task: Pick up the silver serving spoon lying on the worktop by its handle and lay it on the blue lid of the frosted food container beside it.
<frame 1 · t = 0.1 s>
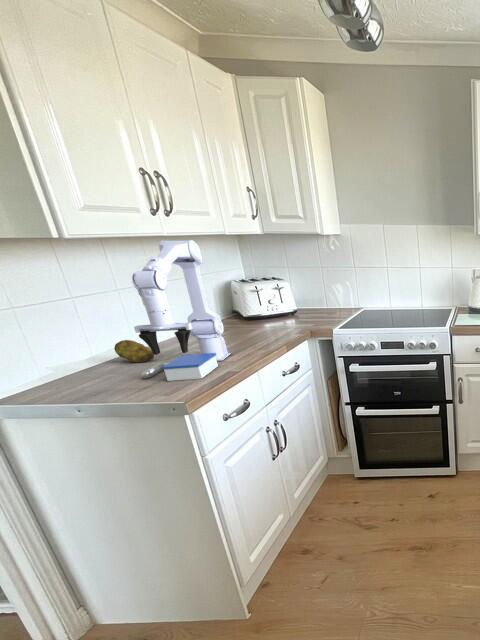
hand: (171, 353, 132), 10 cm above the counter, tool pointing down, fingers open, 7 cm apart
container: (194, 373, 145), on the counter
potato: (137, 361, 159), on the counter
spoon: (155, 373, 144), on the counter
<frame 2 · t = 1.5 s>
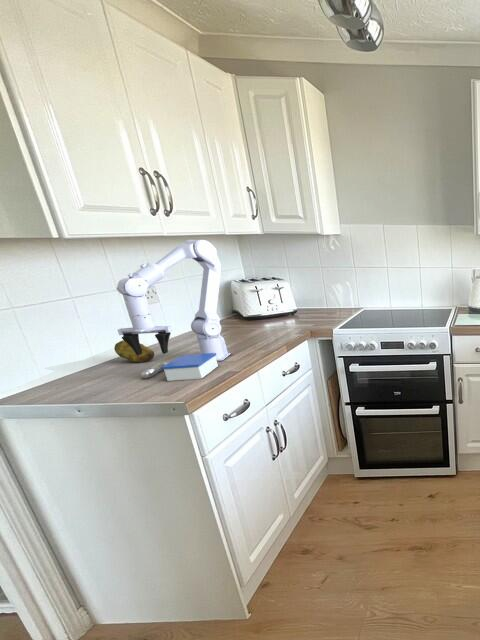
hand: (152, 353, 144), 7 cm above the counter, tool pointing down, fingers open, 7 cm apart
nothing on the counter moved.
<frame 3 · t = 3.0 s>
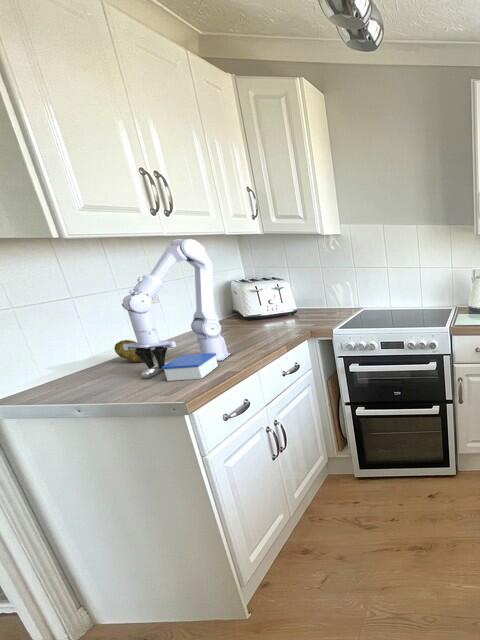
hand: (157, 368, 146), 1 cm above the counter, tool pointing down, fingers closed on spoon, 2 cm apart
spoon: (155, 373, 144), on the counter, touching gripper
everything else where it was.
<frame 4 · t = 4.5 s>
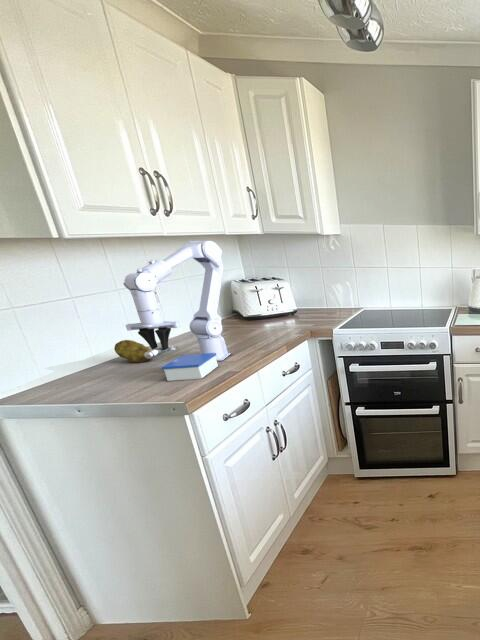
hand: (160, 349, 143), 8 cm above the counter, tool pointing down, fingers closed on spoon, 2 cm apart
spoon: (158, 354, 142), point 7 cm above the counter, touching gripper
everything else where it was.
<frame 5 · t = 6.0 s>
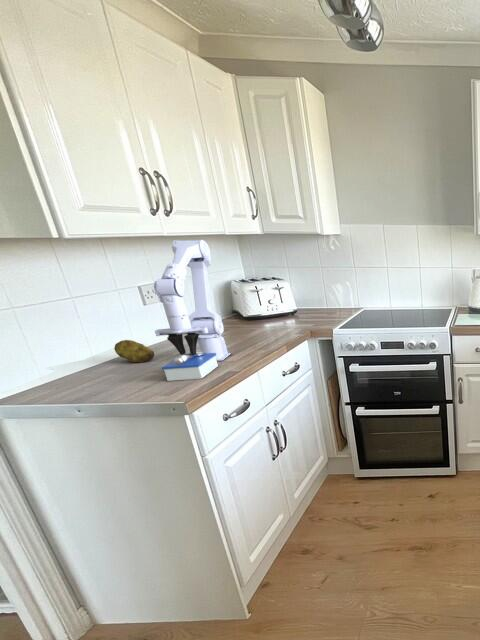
hand: (188, 354, 142), 7 cm above the counter, tool pointing down, fingers closed on spoon, 2 cm apart
spoon: (187, 360, 141), point 5 cm above the counter, touching gripper
everything else where it was.
when the fingers open (6 cm above the counter, at t = 6.3 s): spoon stays where it is, resting on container.
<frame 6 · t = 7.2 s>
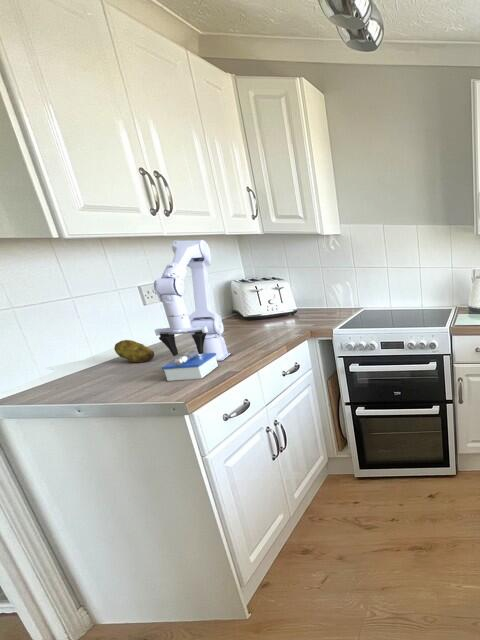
hand: (188, 354, 142), 7 cm above the counter, tool pointing down, fingers open, 7 cm apart
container: (194, 373, 145), on the counter, touching spoon
spoon: (187, 361, 141), point 5 cm above the counter, touching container
everything else where it was.
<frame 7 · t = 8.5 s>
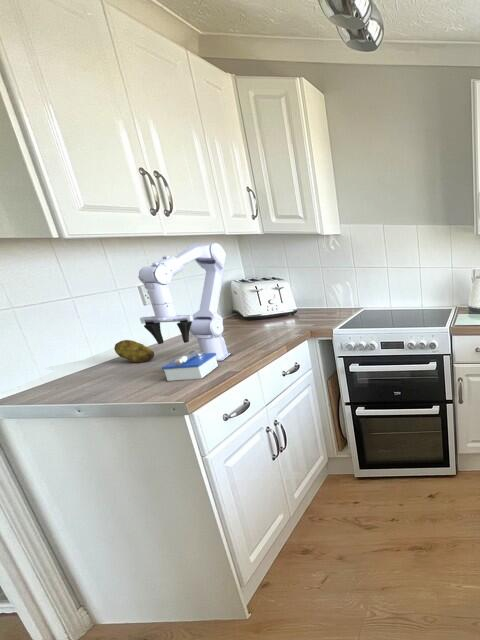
hand: (173, 342, 143), 10 cm above the counter, tool pointing down, fingers open, 7 cm apart
nothing on the counter moved.
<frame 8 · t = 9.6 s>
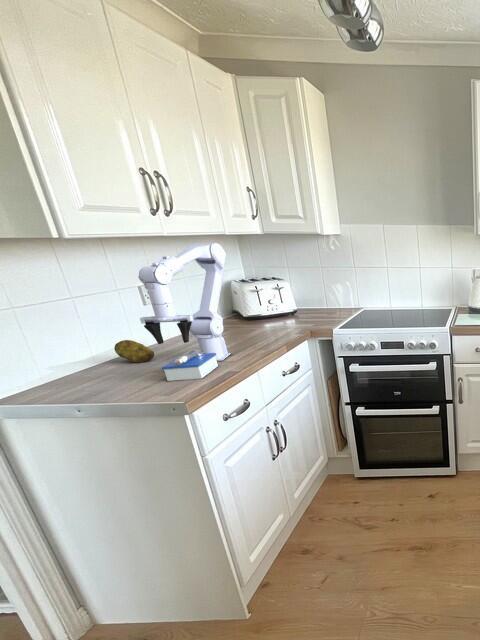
hand: (173, 342, 143), 10 cm above the counter, tool pointing down, fingers open, 7 cm apart
nothing on the counter moved.
at the end: spoon inside the target area on the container (1.2 cm from its centre), point 5.0 cm above the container's base; spoon touching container; the gripper is holding nothing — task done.
